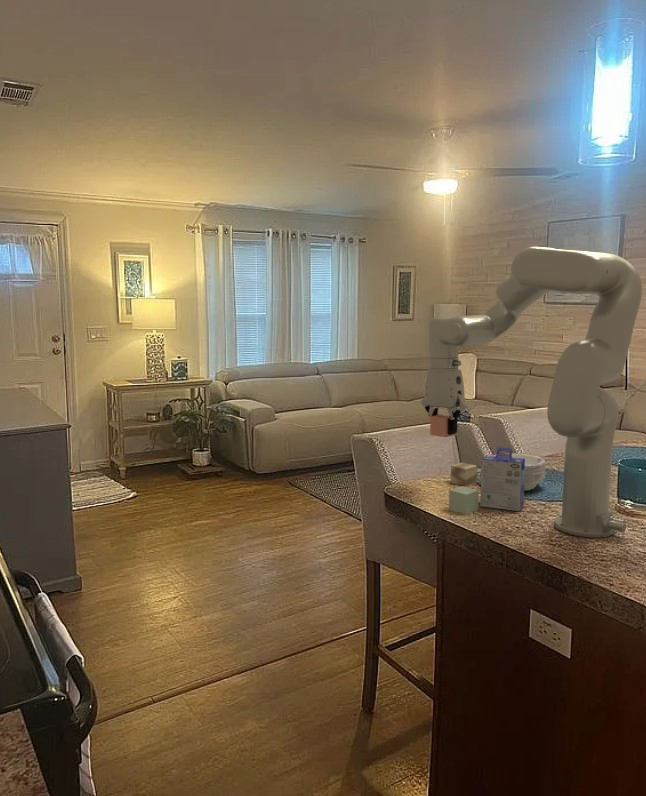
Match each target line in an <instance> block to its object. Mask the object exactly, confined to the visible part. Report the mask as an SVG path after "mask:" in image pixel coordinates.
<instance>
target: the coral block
mask: <svg viewBox="0 0 646 796" xmlns="http://www.w3.org/2000/svg"><path fill="white" fill-rule="evenodd" d="M449 419H450V418H449V414H445V413H441V414H440V413H439V414H438V415H435V416H430V417H429V421H430V422H429V425H430V426H429V428H430V429H429V430H430V431H429V432H430V436H433V437H434V436H435V437H440V438H442V437H443V438H449V437H453V436H456V435H458V432H457V433H456V434H452V435H449V434H448V420H449Z"/></svg>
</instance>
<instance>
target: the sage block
mask: <svg viewBox="0 0 646 796" xmlns="http://www.w3.org/2000/svg"><path fill="white" fill-rule="evenodd" d="M448 495H449V496H448V510H449V511H452V512H456V513H459V512H460V513H459V514H463V515H468V514H470V513H474V512H476V511H478V510H479V496H480V495H479V490H478V489H474V488H471V487H467V486H462V485H459V486H457V487H455V488H452V489H449V491H448ZM473 511H474V512H473Z"/></svg>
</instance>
